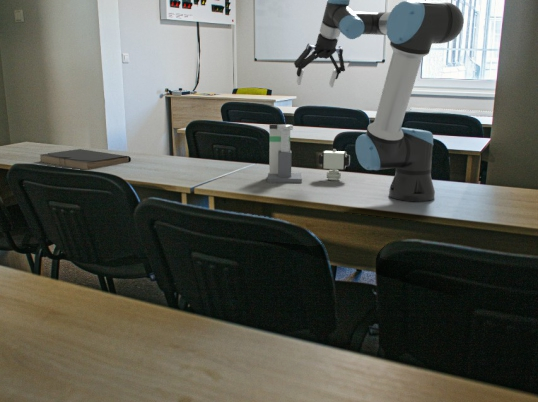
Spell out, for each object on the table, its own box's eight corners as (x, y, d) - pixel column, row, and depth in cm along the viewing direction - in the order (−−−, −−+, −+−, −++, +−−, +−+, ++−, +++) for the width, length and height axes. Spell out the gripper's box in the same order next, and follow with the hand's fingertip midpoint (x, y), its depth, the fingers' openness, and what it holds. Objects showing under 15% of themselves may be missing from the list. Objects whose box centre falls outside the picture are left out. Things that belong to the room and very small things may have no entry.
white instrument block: (292, 152, 224) (292, 124, 222) (292, 155, 218) (293, 126, 215) (269, 152, 225) (269, 124, 222) (269, 155, 218) (269, 126, 216)
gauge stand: (300, 176, 229) (301, 126, 224) (301, 182, 218) (302, 129, 213) (268, 176, 229) (268, 126, 224) (267, 182, 218) (267, 129, 214)
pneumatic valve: (348, 181, 220) (349, 150, 217) (317, 180, 223) (318, 149, 220) (349, 178, 226) (350, 148, 223) (319, 177, 228) (320, 147, 225)
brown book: (38, 153, 258) (83, 147, 277) (39, 162, 259) (84, 156, 278) (86, 161, 240) (130, 154, 259) (87, 171, 241) (131, 163, 260)
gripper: (357, 32, 218) (341, 81, 232) (294, 26, 211) (282, 77, 225) (363, 42, 213) (346, 91, 227) (299, 36, 206) (286, 87, 220)
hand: (314, 84), depth 226 cm, fingers open, 13 cm apart
